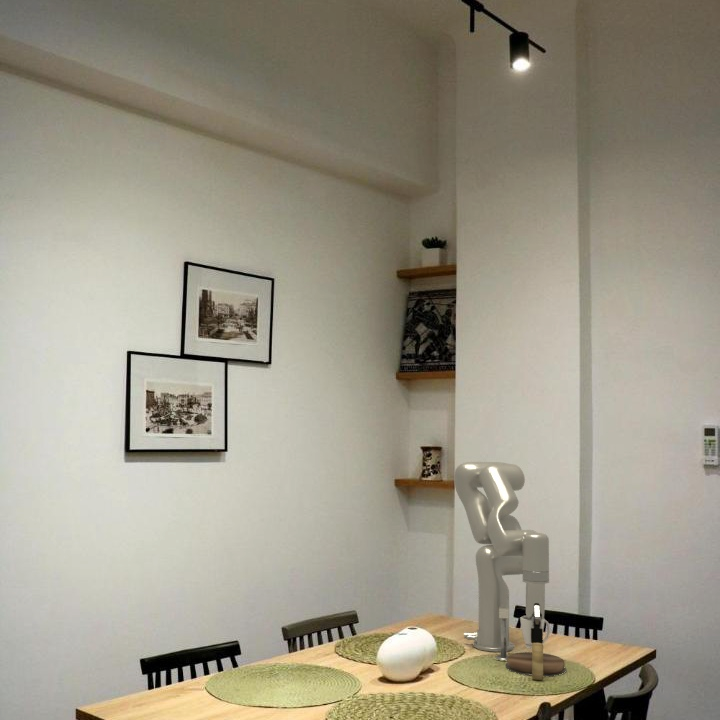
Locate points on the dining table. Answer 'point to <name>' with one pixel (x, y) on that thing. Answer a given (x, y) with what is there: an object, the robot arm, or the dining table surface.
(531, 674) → the turntable base
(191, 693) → the dining table surface
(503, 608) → the gauge post
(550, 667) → the turntable
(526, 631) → the cup
